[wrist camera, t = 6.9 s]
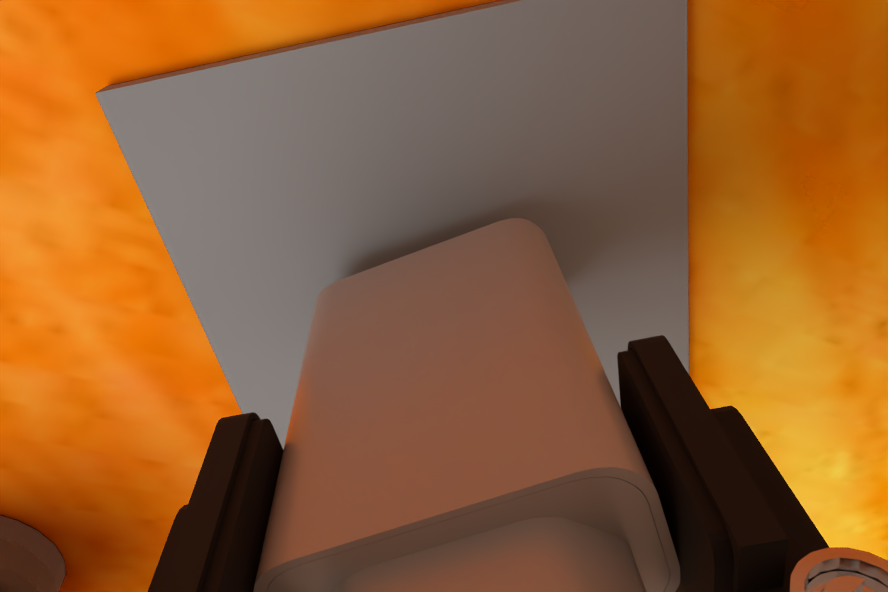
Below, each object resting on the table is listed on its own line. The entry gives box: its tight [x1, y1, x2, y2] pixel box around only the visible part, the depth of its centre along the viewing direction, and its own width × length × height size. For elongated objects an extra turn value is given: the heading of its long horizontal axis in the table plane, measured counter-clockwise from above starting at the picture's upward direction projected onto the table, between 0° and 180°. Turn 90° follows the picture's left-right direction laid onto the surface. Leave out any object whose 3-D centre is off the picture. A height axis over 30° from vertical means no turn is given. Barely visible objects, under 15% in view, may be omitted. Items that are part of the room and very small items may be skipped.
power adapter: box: [253, 218, 680, 592], centre depth 10 cm, size 3×5×12 cm, turn 111°
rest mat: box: [95, 0, 689, 450], centre depth 16 cm, size 12×12×1 cm
